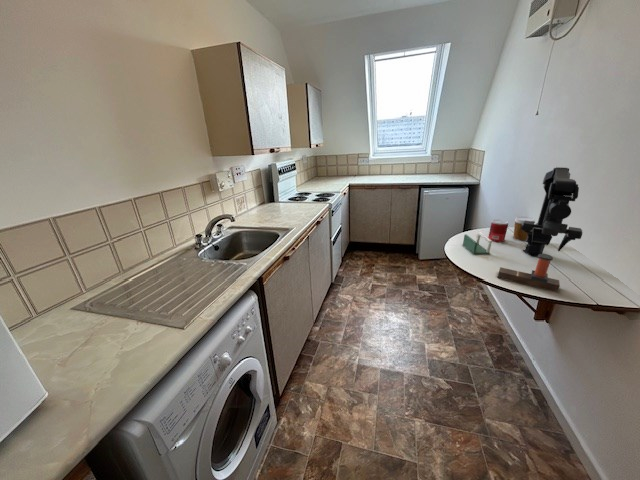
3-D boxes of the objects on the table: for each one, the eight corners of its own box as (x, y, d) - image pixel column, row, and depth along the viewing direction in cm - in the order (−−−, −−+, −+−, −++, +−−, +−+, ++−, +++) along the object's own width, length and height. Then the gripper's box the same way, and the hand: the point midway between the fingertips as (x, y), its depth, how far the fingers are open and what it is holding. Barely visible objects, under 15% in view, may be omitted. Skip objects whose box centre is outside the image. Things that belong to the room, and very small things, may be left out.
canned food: (507, 242, 150) (511, 223, 145) (492, 242, 150) (497, 224, 146) (498, 237, 157) (503, 219, 152) (485, 237, 157) (489, 219, 153)
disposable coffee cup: (519, 234, 158) (525, 215, 154) (534, 240, 150) (540, 220, 145) (505, 236, 157) (510, 217, 153) (519, 242, 148) (525, 222, 144)
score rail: (497, 277, 115) (498, 271, 114) (498, 272, 119) (500, 266, 118) (557, 292, 104) (559, 285, 102) (556, 286, 107) (559, 279, 106)
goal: (477, 244, 147) (479, 232, 145) (489, 254, 136) (492, 240, 134) (462, 245, 148) (464, 232, 145) (473, 254, 137) (475, 241, 134)
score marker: (530, 279, 107) (537, 257, 104) (531, 273, 112) (537, 251, 108) (546, 282, 104) (554, 260, 101) (546, 276, 109) (553, 254, 105)
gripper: (524, 213, 105) (514, 249, 111) (589, 222, 93) (574, 261, 99) (526, 207, 113) (517, 241, 119) (587, 214, 101) (574, 251, 107)
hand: (544, 248), depth 111 cm, fingers open, 9 cm apart
